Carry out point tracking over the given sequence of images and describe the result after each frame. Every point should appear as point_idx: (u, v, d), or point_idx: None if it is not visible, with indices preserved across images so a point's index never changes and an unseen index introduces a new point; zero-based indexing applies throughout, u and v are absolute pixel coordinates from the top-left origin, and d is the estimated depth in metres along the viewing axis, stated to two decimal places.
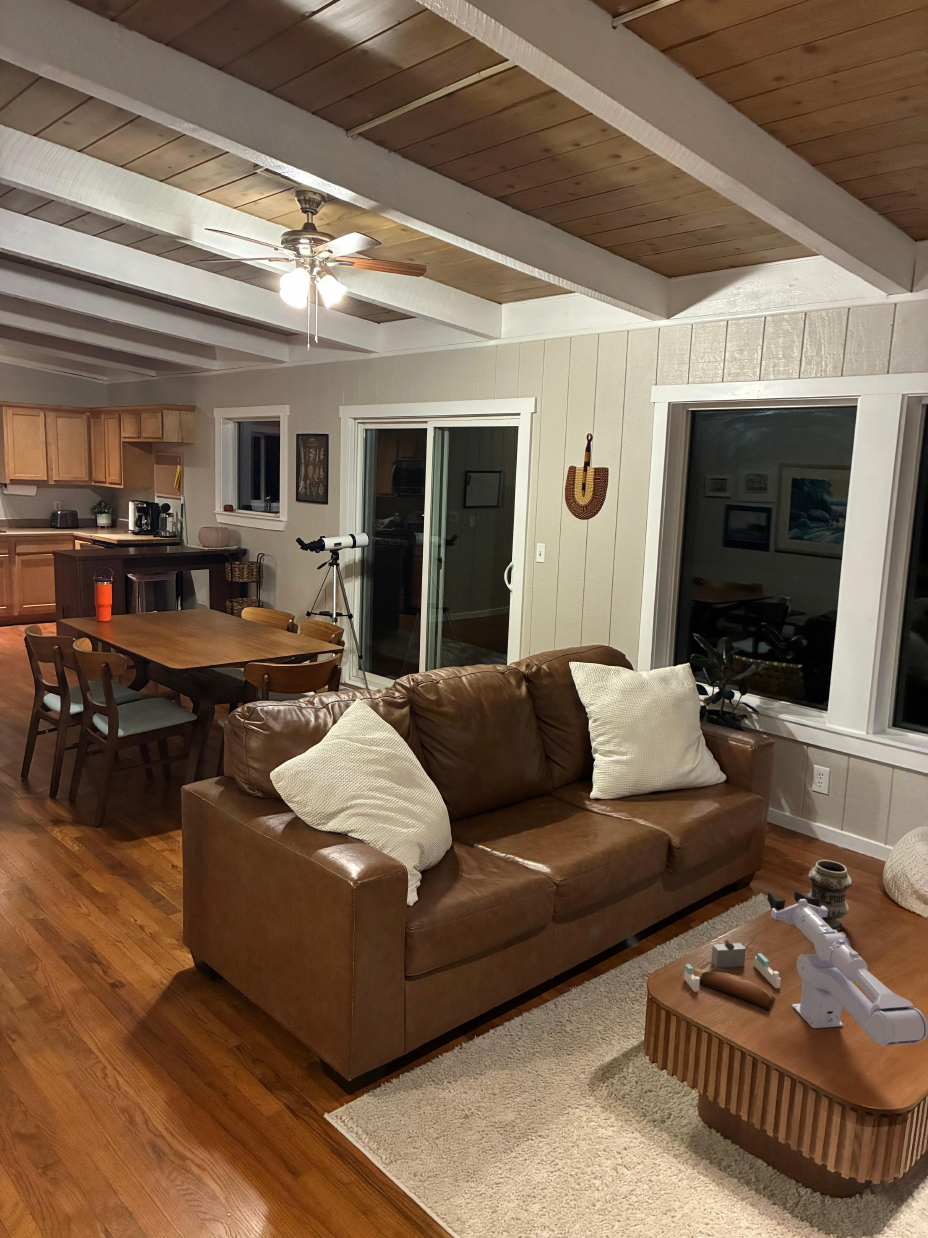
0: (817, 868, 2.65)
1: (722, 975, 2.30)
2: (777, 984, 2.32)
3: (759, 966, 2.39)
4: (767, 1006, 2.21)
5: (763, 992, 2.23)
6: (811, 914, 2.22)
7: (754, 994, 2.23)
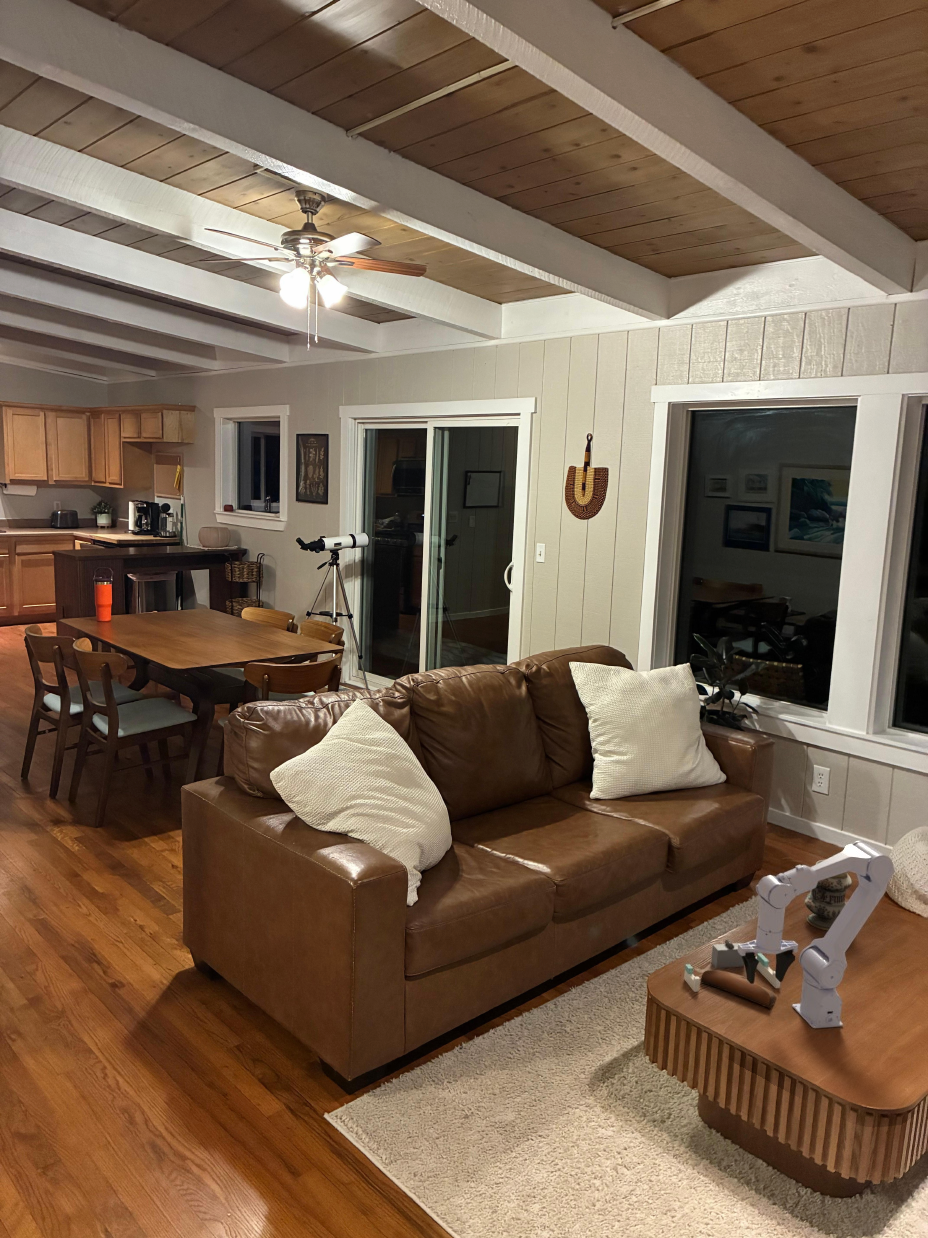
0: None
1: (723, 974, 2.31)
2: (777, 984, 2.32)
3: (759, 966, 2.39)
4: (768, 1005, 2.22)
5: (764, 991, 2.23)
6: None
7: (755, 993, 2.24)
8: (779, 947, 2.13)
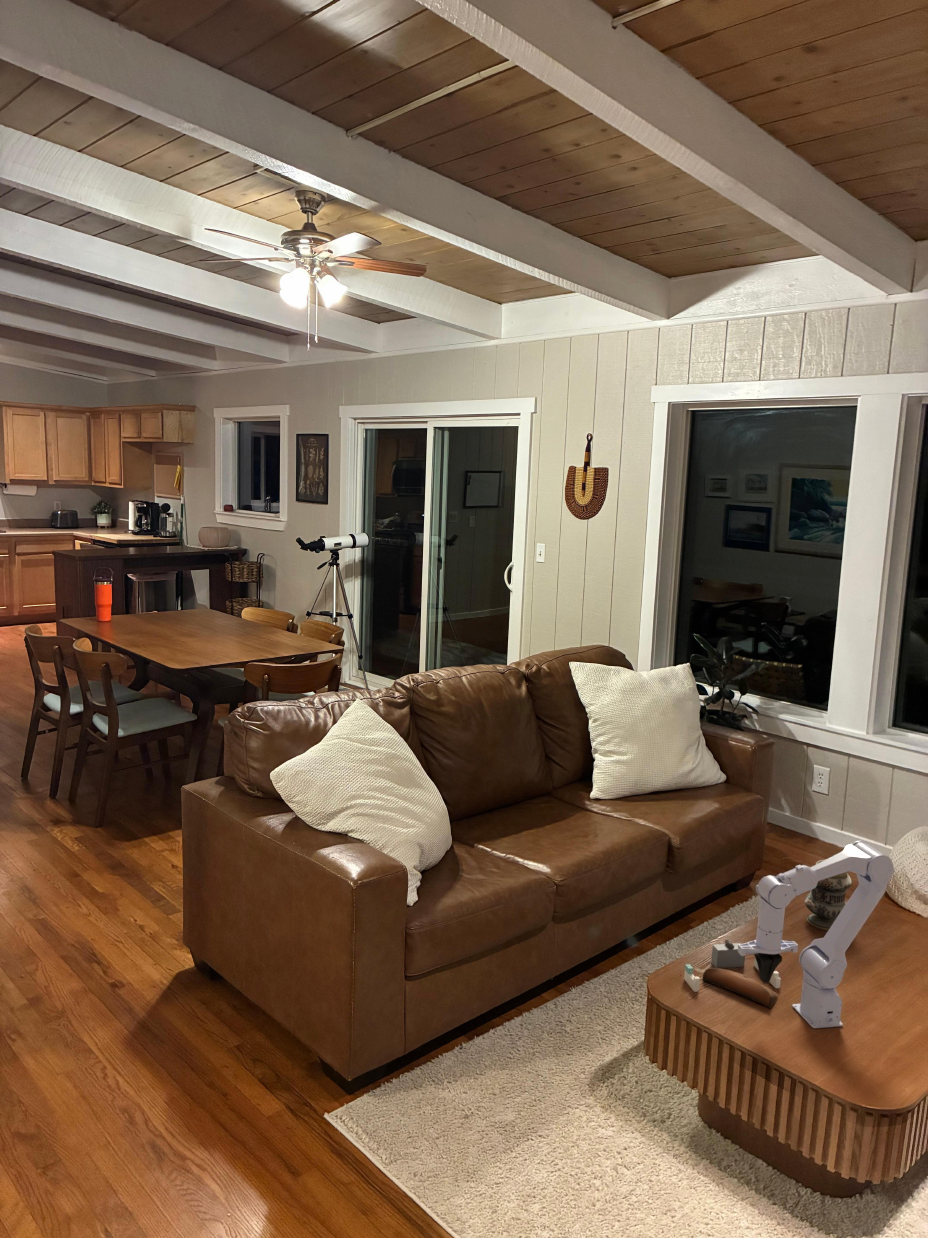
0: None
1: (725, 972, 2.31)
2: (777, 984, 2.32)
3: None
4: (768, 1004, 2.22)
5: (764, 990, 2.24)
6: None
7: (755, 991, 2.24)
8: (779, 947, 2.13)
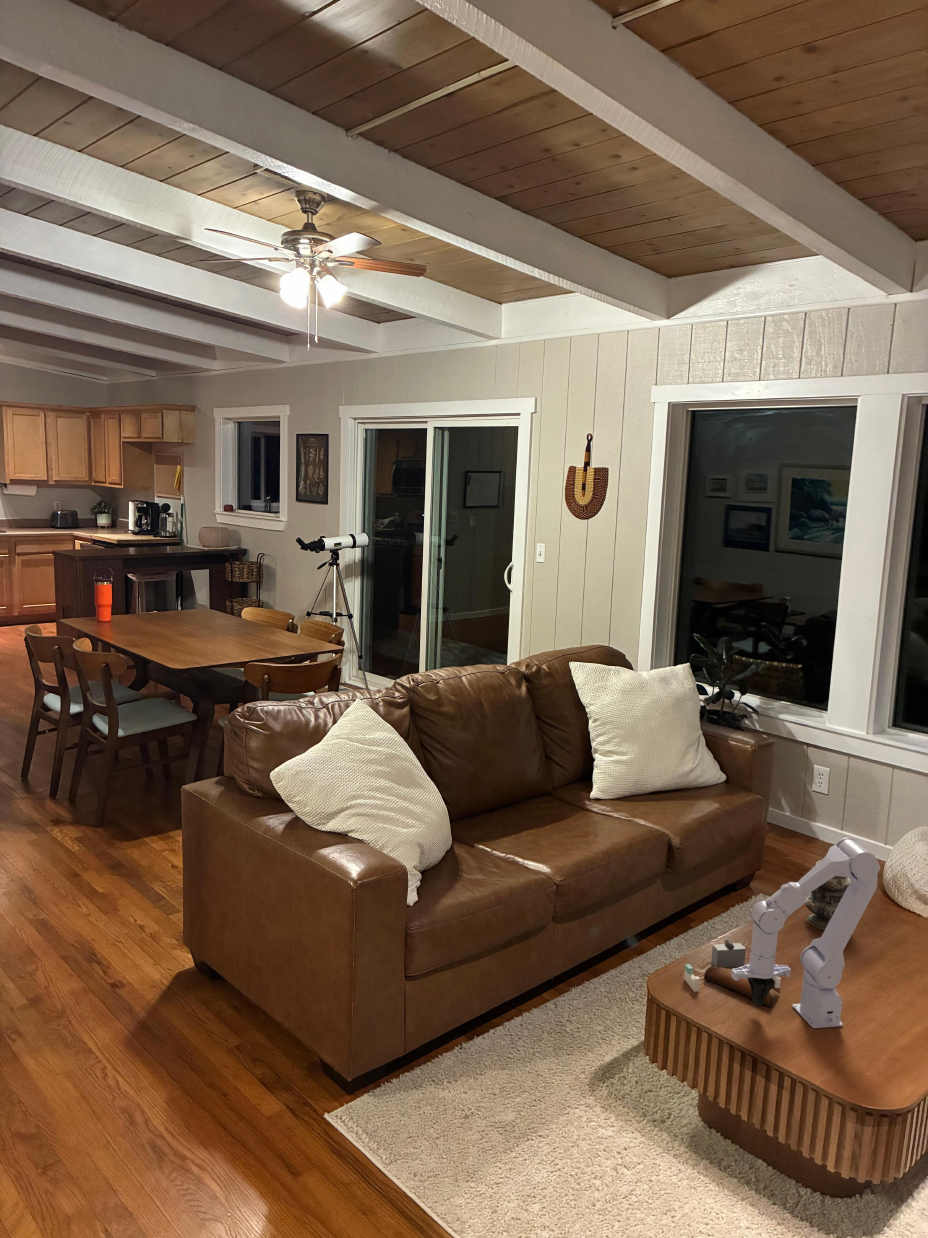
0: None
1: (726, 971, 2.32)
2: (777, 984, 2.32)
3: None
4: (768, 1003, 2.22)
5: None
6: None
7: None
8: (772, 972, 2.16)
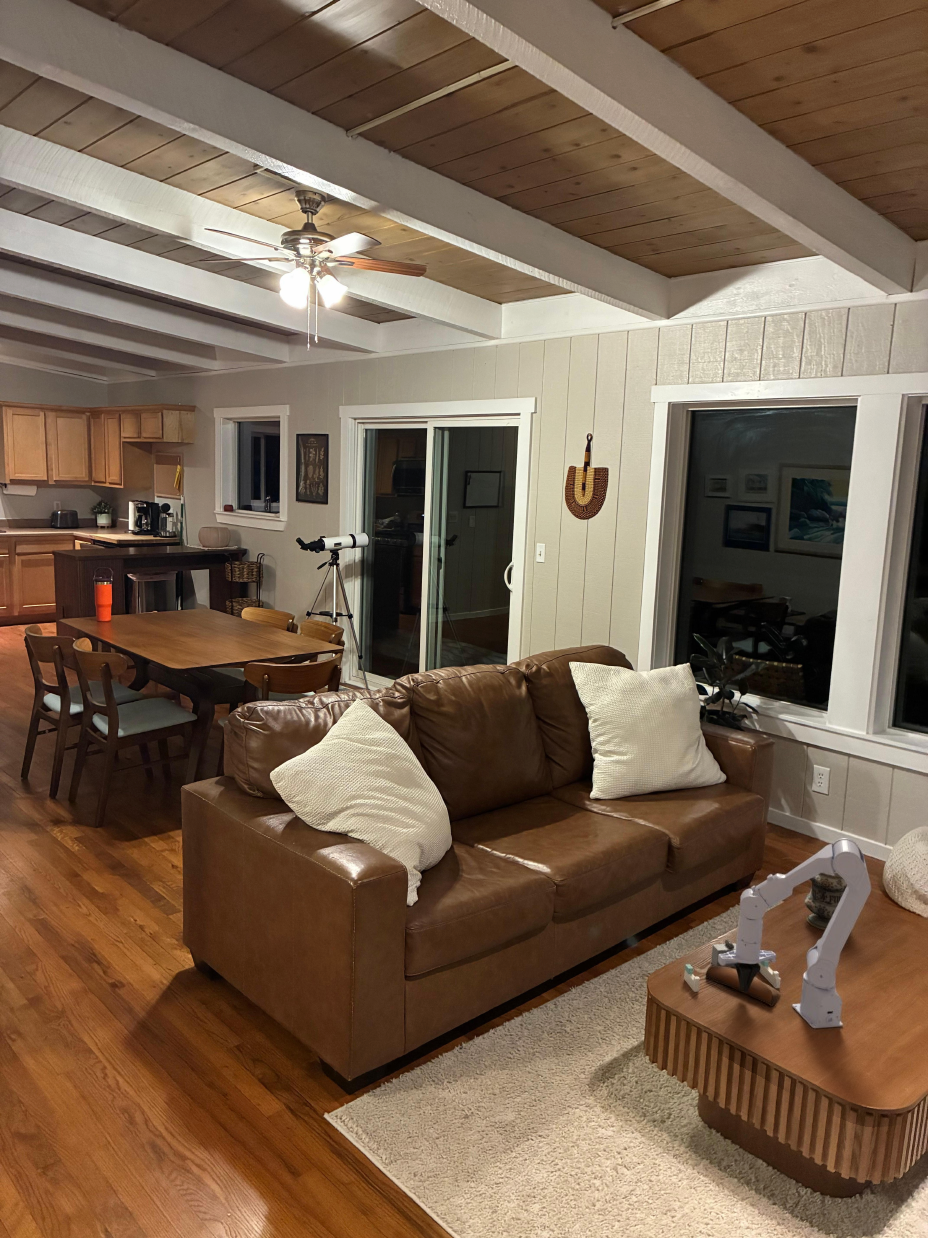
0: None
1: (728, 970, 2.32)
2: (777, 984, 2.32)
3: None
4: (770, 1002, 2.23)
5: (766, 988, 2.25)
6: None
7: (758, 990, 2.25)
8: (757, 957, 2.22)
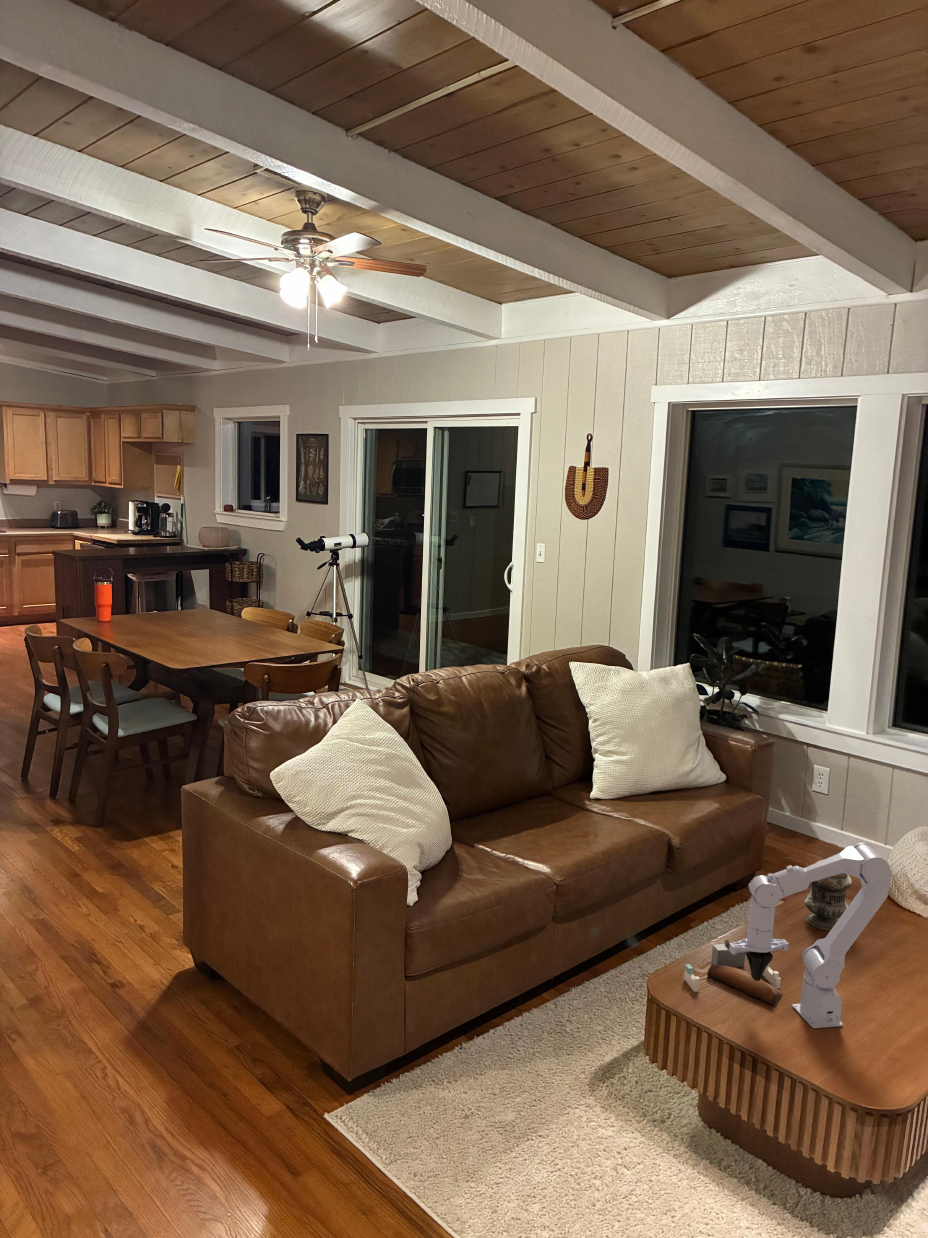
0: None
1: (730, 969, 2.33)
2: (777, 984, 2.32)
3: None
4: (771, 1002, 2.23)
5: (768, 988, 2.25)
6: None
7: (759, 989, 2.26)
8: (770, 945, 2.17)
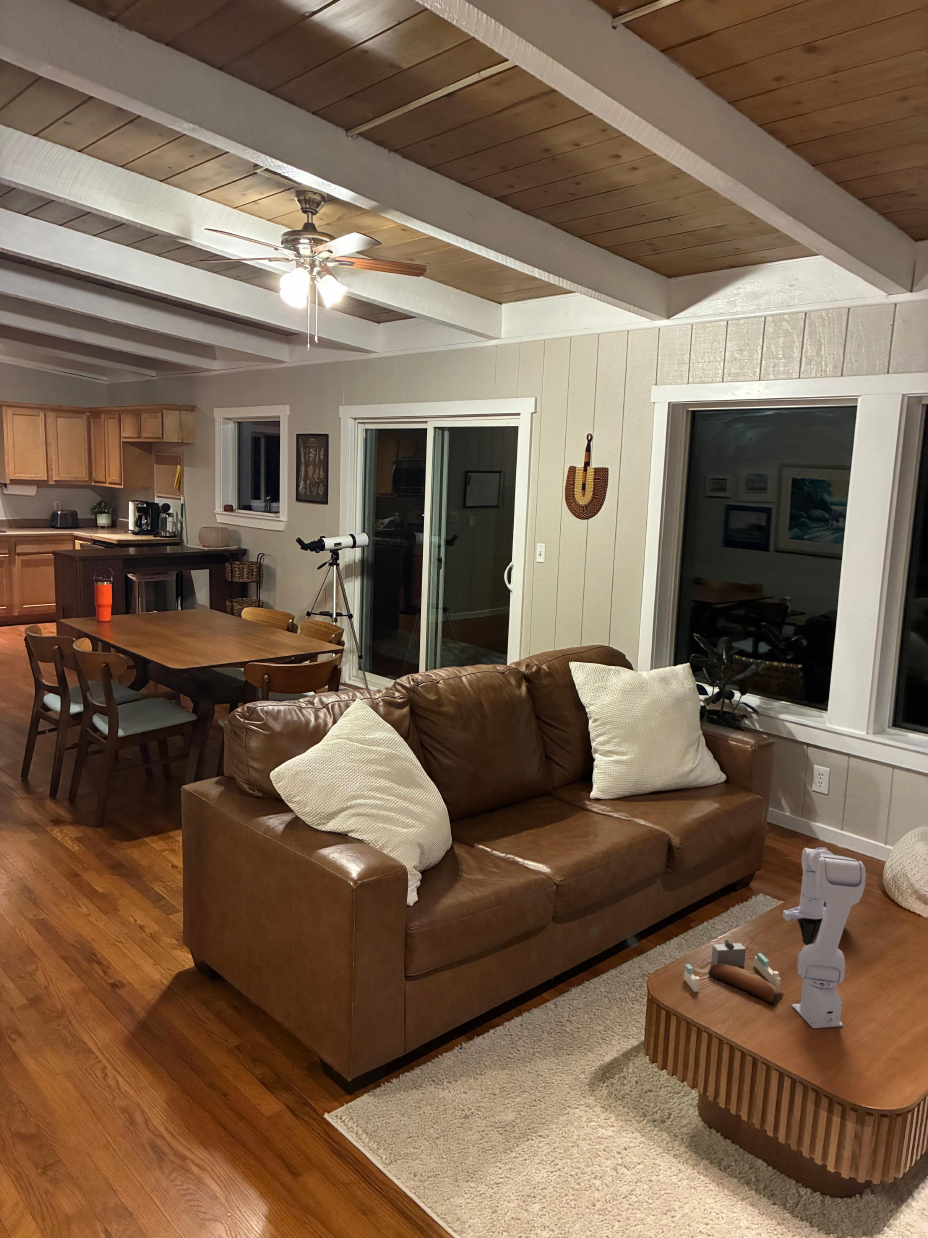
0: None
1: (731, 968, 2.33)
2: (777, 984, 2.32)
3: (759, 966, 2.39)
4: (772, 1001, 2.24)
5: (769, 987, 2.25)
6: None
7: (760, 988, 2.26)
8: (821, 913, 2.31)
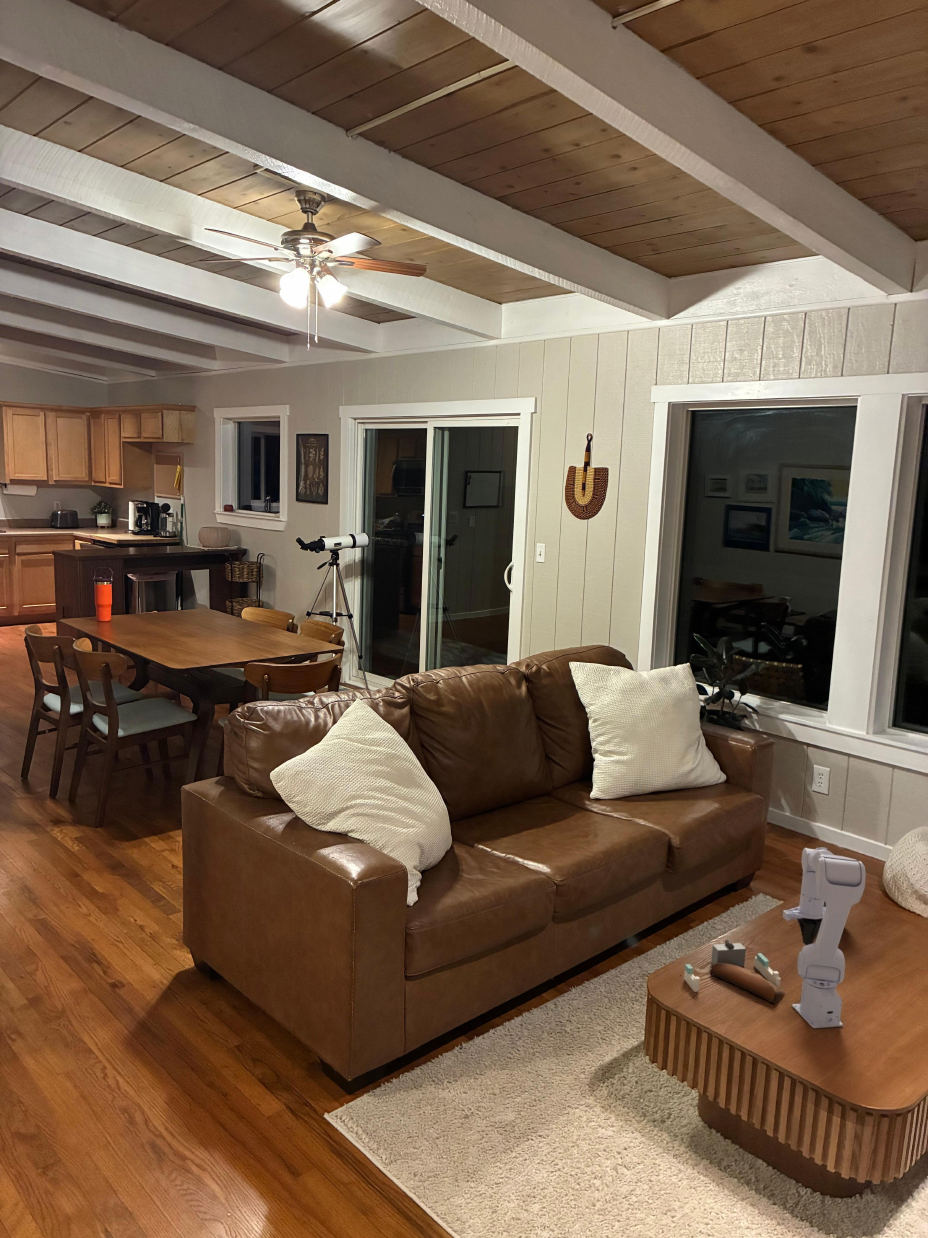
0: None
1: (732, 967, 2.34)
2: (777, 984, 2.32)
3: (759, 966, 2.39)
4: (772, 1000, 2.24)
5: (769, 986, 2.26)
6: None
7: (761, 987, 2.27)
8: (821, 913, 2.31)
